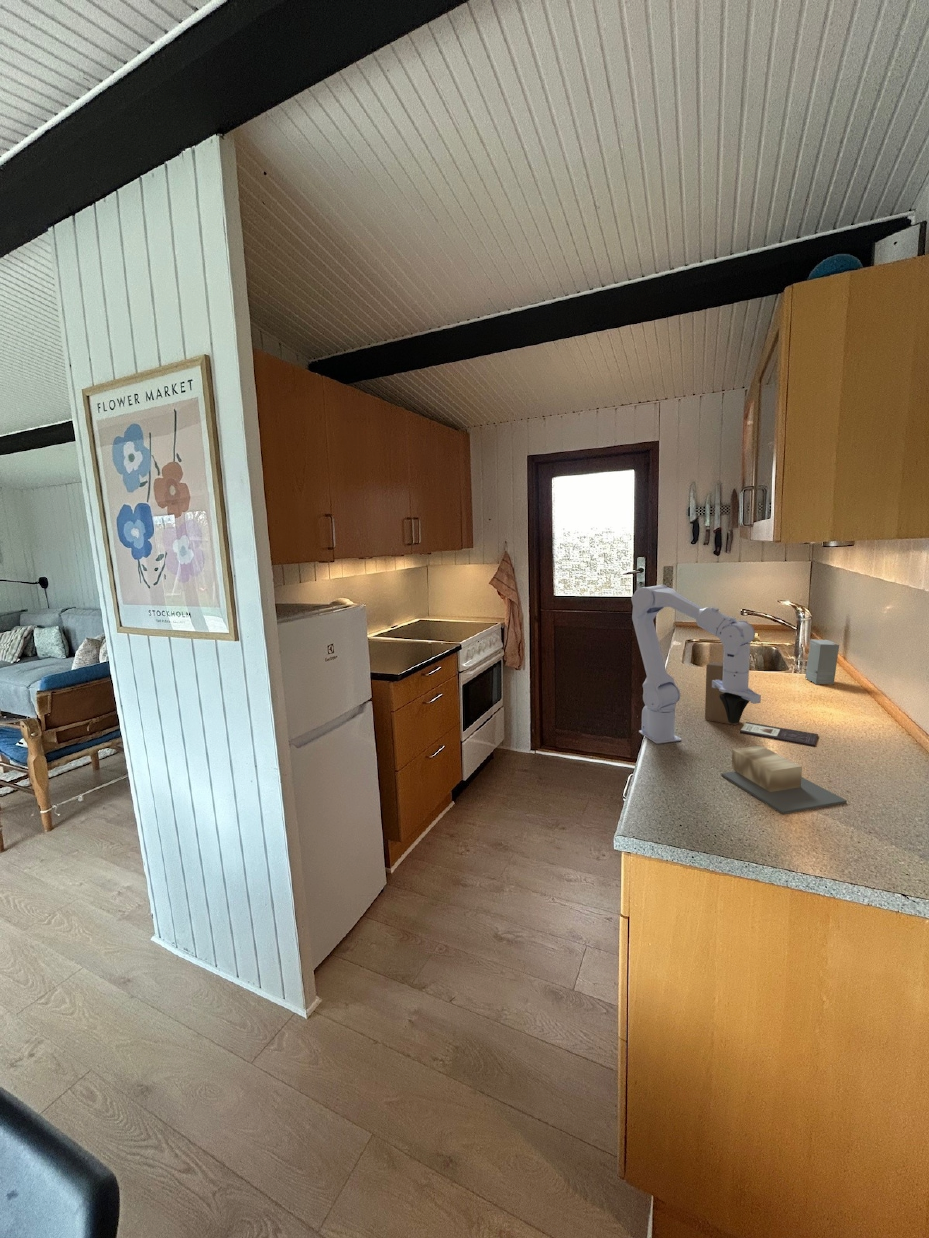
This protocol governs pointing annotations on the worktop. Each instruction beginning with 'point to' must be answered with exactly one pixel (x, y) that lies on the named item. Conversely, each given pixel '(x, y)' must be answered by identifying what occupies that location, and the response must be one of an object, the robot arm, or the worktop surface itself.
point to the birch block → (767, 768)
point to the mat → (788, 795)
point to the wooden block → (714, 695)
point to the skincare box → (822, 661)
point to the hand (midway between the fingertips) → (733, 722)
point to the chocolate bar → (780, 734)
